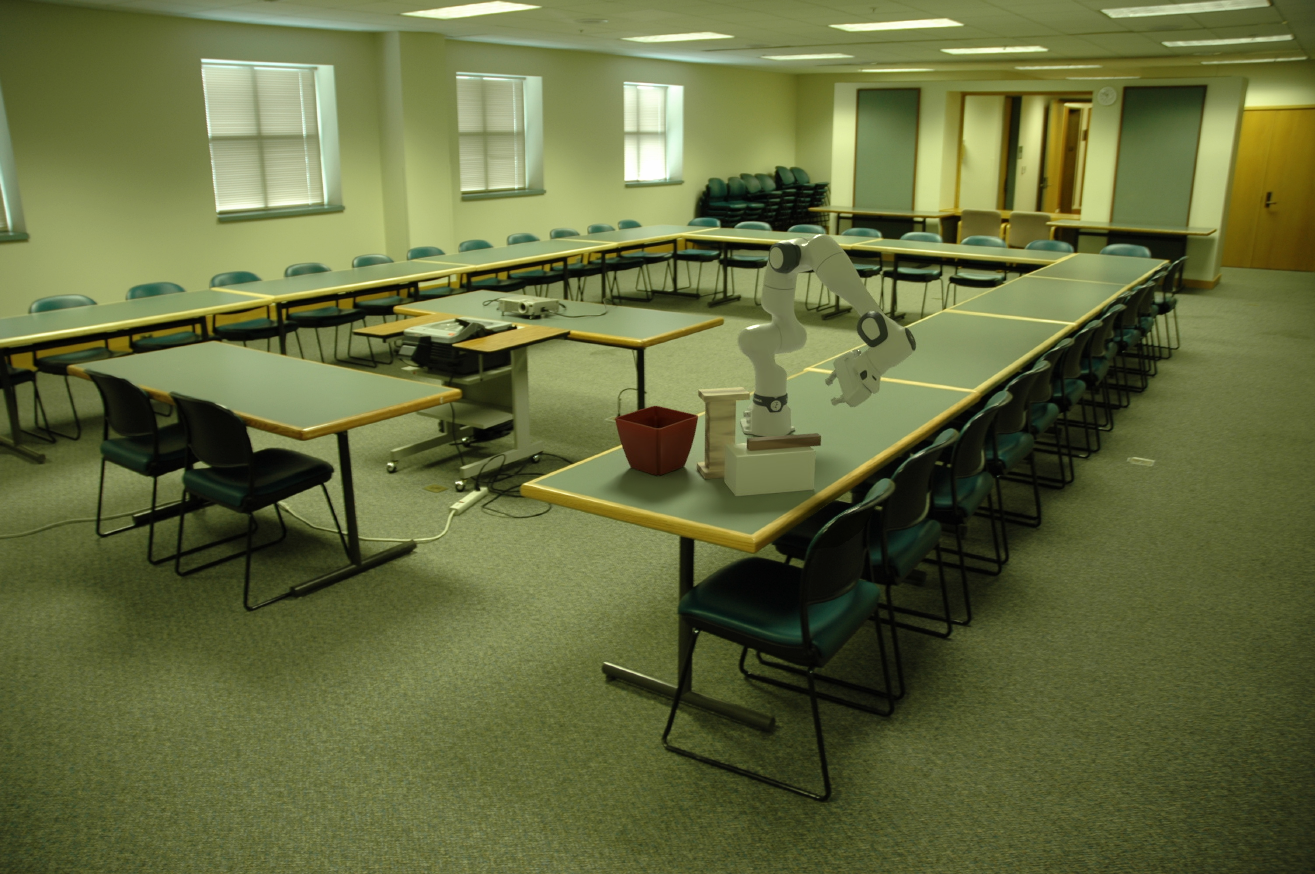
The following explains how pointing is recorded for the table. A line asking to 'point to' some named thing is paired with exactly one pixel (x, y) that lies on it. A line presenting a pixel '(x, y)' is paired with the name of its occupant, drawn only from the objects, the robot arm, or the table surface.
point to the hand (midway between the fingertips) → (829, 393)
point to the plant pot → (657, 438)
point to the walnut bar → (783, 442)
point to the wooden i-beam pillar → (719, 427)
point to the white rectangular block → (768, 469)
